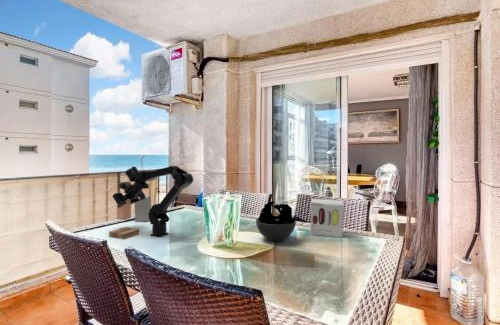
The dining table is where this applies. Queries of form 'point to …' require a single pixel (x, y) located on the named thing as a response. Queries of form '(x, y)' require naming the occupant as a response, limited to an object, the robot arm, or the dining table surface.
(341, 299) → the dining table surface
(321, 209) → the supplement box
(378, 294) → the dining table surface
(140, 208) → the skincare box
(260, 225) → the black rounded bowl
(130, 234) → the walnut slab
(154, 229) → the robot arm
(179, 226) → the dining table surface
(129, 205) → the terracotta block
